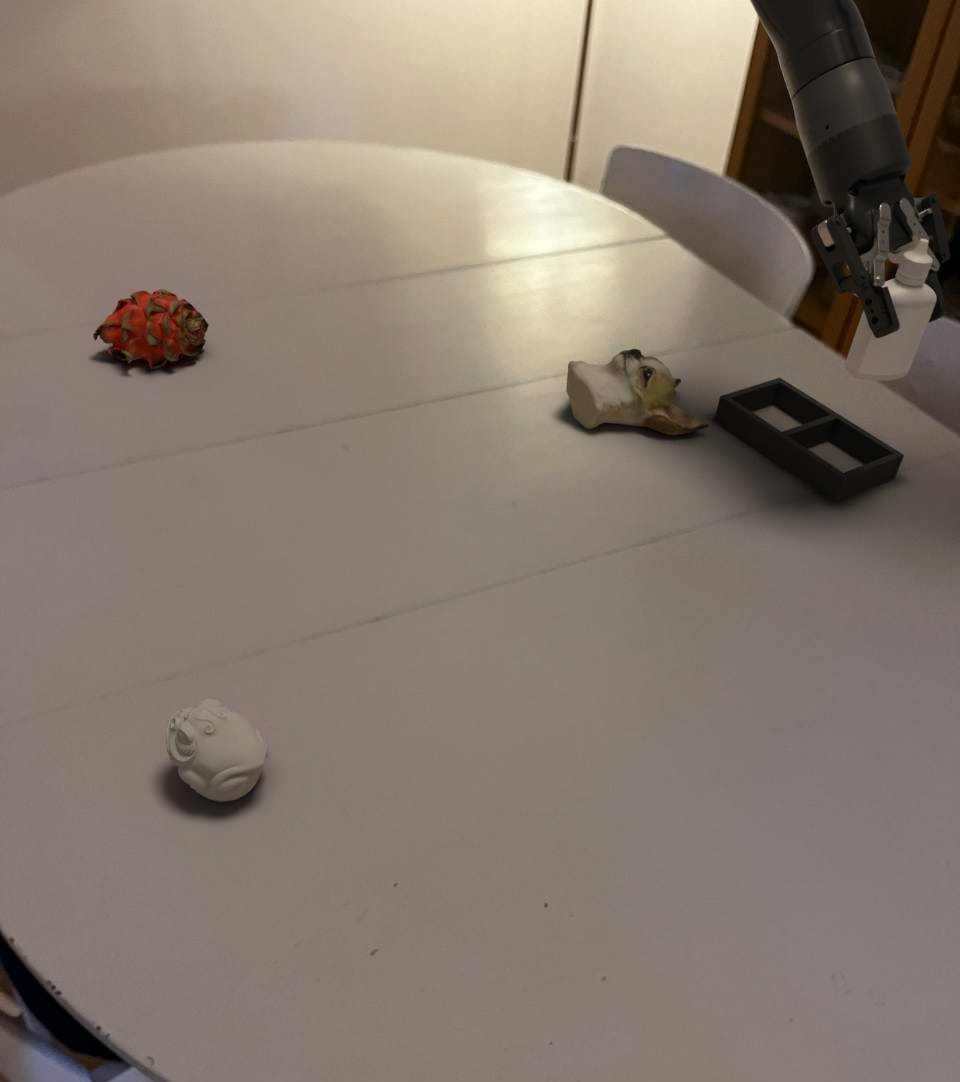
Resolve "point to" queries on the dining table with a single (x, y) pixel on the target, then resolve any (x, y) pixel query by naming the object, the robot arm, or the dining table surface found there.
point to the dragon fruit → (153, 328)
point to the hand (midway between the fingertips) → (911, 326)
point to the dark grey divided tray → (808, 438)
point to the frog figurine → (216, 750)
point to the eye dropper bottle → (913, 312)
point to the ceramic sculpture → (628, 394)
